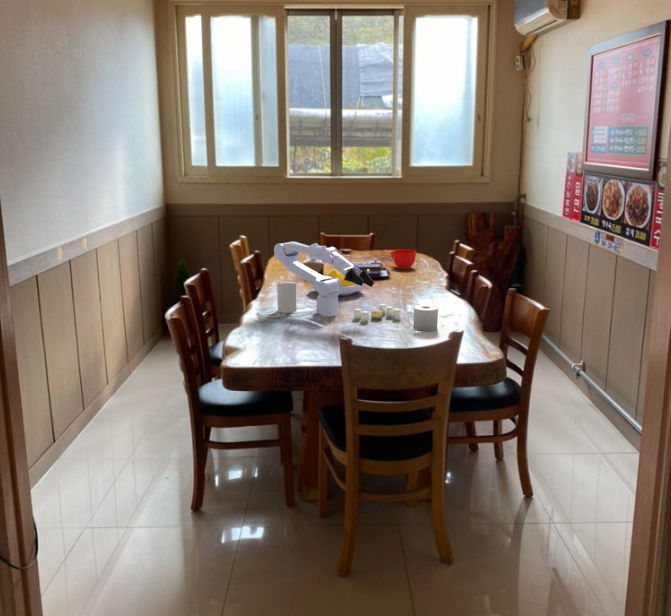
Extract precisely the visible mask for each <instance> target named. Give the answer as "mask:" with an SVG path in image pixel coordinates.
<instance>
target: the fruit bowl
mask: <svg viewBox="0 0 671 616" xmlns="http://www.w3.org/2000/svg"><path fill="white" fill-rule="evenodd" d="M367 272H368V274H369V273H370V272H371V270H370V269H367ZM325 276H327V277H331V278H337V279H339V280H340V282H341V284H342V289H341V291H340V292H339V295H340V296H349V295H352V294H355V293H356V292H359V291H361V290H362V288H363V286H364V284H365V283H363V285H362V286H360V285H357V284H355V283H353V282H350V281H345V280H344V278H345V276H344V275H342V274H341V272H339V271H338V270H337V269H335V268H334V267H332V268H330V269H328V270H327V271H326V273H325ZM311 286H312V287H313V289H314V285H313V284H311ZM339 295H338V297H340V296H339Z"/></svg>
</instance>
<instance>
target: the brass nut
mask: <svg viewBox="0 0 671 616" xmlns="http://www.w3.org/2000/svg"><path fill="white" fill-rule="evenodd" d="M370 315H371V319H372V320H382V311H379V309H378V310H377V309H376V310H372V311H370Z"/></svg>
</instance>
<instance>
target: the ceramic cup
mask: <svg viewBox="0 0 671 616" xmlns="http://www.w3.org/2000/svg"><path fill="white" fill-rule="evenodd" d="M416 255H417V250H415V249H406V248H405V249H402V248H400V249H399V248H398V249H394V250H392V251H391V253H390V256H391V258H392V260H393V261H394V264H395V266H396V267H397V269H399V270H409V269H411V268H412V267H413V266H414V263H415V261H416Z"/></svg>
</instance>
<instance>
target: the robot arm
mask: <svg viewBox="0 0 671 616" xmlns="http://www.w3.org/2000/svg"><path fill="white" fill-rule="evenodd" d="M273 252H274V257H275V259H276V260H278V261H280V263H281V264H282V265H283V266H284V267H285V268H286V270H287V271H289V272H290V273H292V274H294V275H296V276H297V277H299V278H301V279H303V280H304V281H306V282H308V283H309V284H310V285H312V284H313V285H314V288H313V289H314V291H316V292H317V294H318V296H317V297H316V301H315V302H316V306H315V307H316V308H315V309H316V312H315V313H314V314H319V315H320V316H323V317H330V318H331V317H337V316H338V315H339V296H338V295H339V292H340V291H341V289H342V284H341V282H340V280H339V279H337V278H331V277H327V276H326V275H322V274H321V273H318V272H317V271H316V270H314V269H312V268H310V267H308V266H307V265H305V264H303V263H302V262H300V256H299V253H301V254H306V255H308V257H309V258H312V259H316V260H320V261H321V262H322V263H323V264H328V265H329V266H331V267H332V268H335V269H337V270H338V271H339V272H341V274H342V275H344V276H345V278H344V280H345V281H350V282H353V283H355V284H357V285H360V286H362V285H363V286H364V284H365V285H367V286H368V287H370V288H371V287H373V286H374V284H375V281H374V280H373V279H372V278H371V276H370V274H369V273H368V272H367V270H368V269H367V270H366V269H362V270H361V269H360V268H359V263H354V264H353V263H352V262H351V261H350V260H349V259H347V258H345V257H344V255H341V254H340V253H339V250H338V249H337V247H334V246H329V247H327V246H326V245H319V244H318V243H313V244H310V245H307V244H304V243H300V242H297V241H293V240H292V241H289V242H282V243H276V244H275V245H274V248H273ZM363 283H364V284H363ZM363 286H362V287H363Z"/></svg>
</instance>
